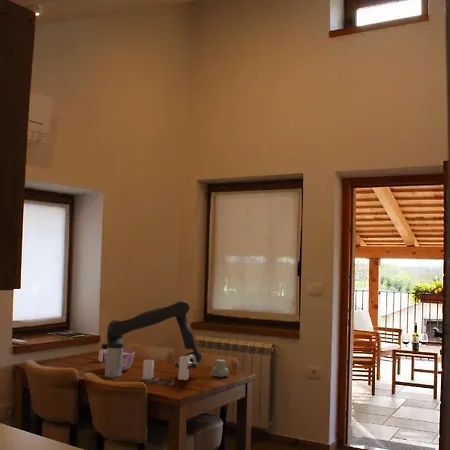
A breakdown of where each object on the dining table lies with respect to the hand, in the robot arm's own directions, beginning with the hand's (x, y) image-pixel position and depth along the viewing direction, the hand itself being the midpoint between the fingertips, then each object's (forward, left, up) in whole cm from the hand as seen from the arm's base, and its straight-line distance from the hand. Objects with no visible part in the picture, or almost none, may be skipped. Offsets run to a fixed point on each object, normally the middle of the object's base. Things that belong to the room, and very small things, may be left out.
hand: (183, 367), depth 312 cm
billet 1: (-21, +3, -10) cm, 23 cm away
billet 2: (0, +3, -7) cm, 8 cm away
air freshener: (+17, +37, -11) cm, 42 cm away
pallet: (-16, +3, -11) cm, 20 cm away
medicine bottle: (-65, +60, -11) cm, 89 cm away
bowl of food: (-48, +34, -11) cm, 60 cm away
